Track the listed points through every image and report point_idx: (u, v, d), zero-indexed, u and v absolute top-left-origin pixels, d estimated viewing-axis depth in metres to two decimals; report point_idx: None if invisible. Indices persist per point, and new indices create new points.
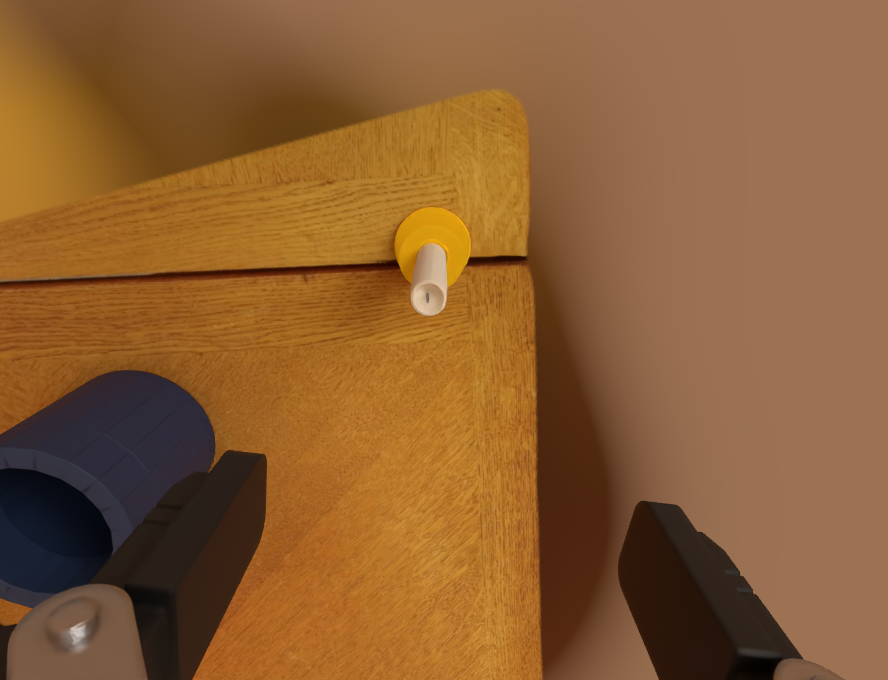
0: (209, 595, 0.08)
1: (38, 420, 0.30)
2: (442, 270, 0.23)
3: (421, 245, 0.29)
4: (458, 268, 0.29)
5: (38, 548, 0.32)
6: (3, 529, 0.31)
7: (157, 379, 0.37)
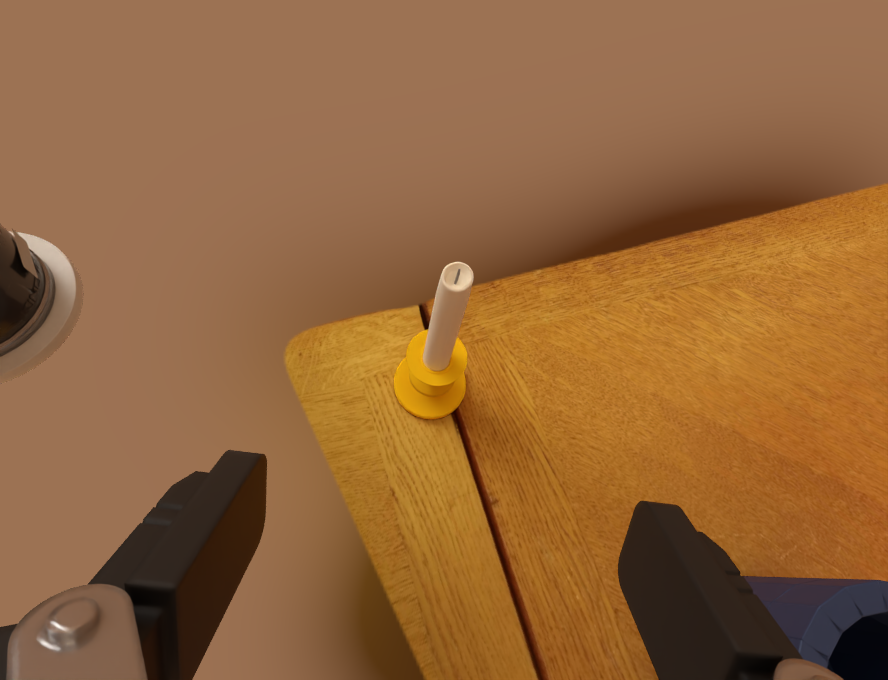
0: (209, 595, 0.08)
1: None
2: None
3: (427, 368, 0.31)
4: None
5: None
6: None
7: None
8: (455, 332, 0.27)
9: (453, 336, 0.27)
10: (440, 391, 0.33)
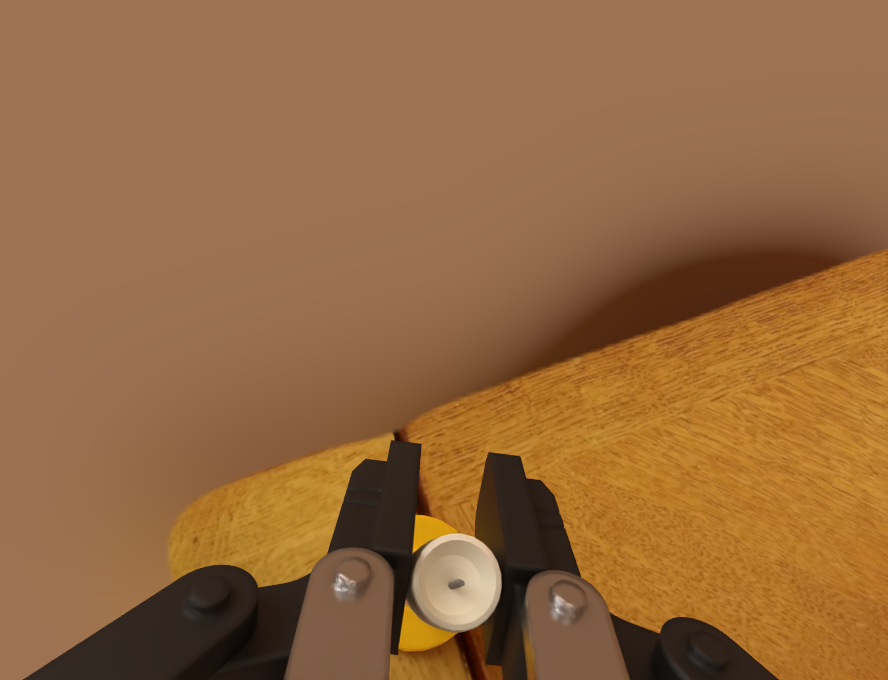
0: None
1: None
2: None
3: (405, 606, 0.16)
4: (426, 526, 0.17)
5: None
6: None
7: None
8: None
9: None
10: None
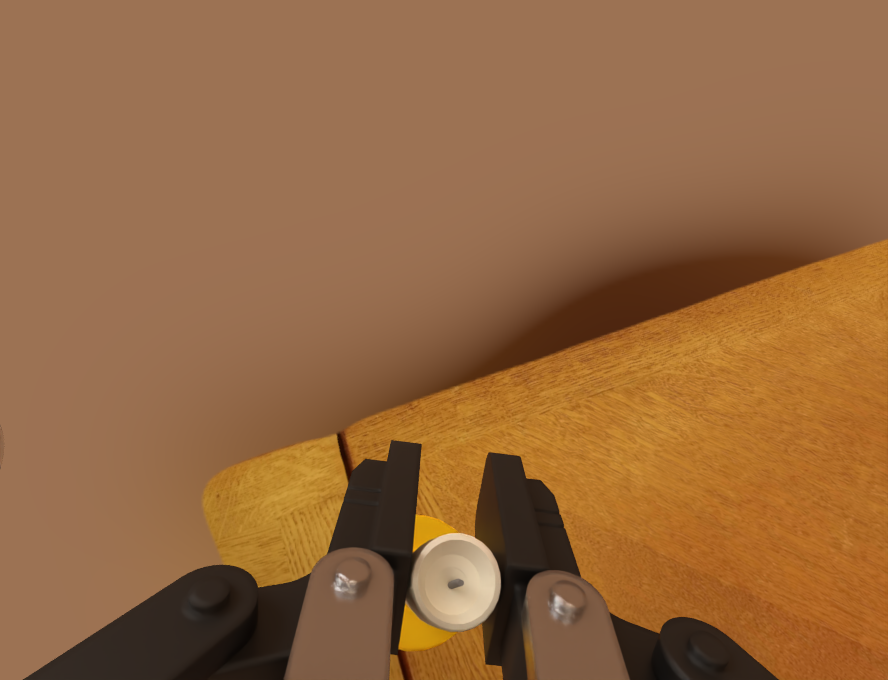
0: None
1: None
2: None
3: (405, 606, 0.16)
4: (426, 526, 0.17)
5: None
6: None
7: None
8: None
9: None
10: None
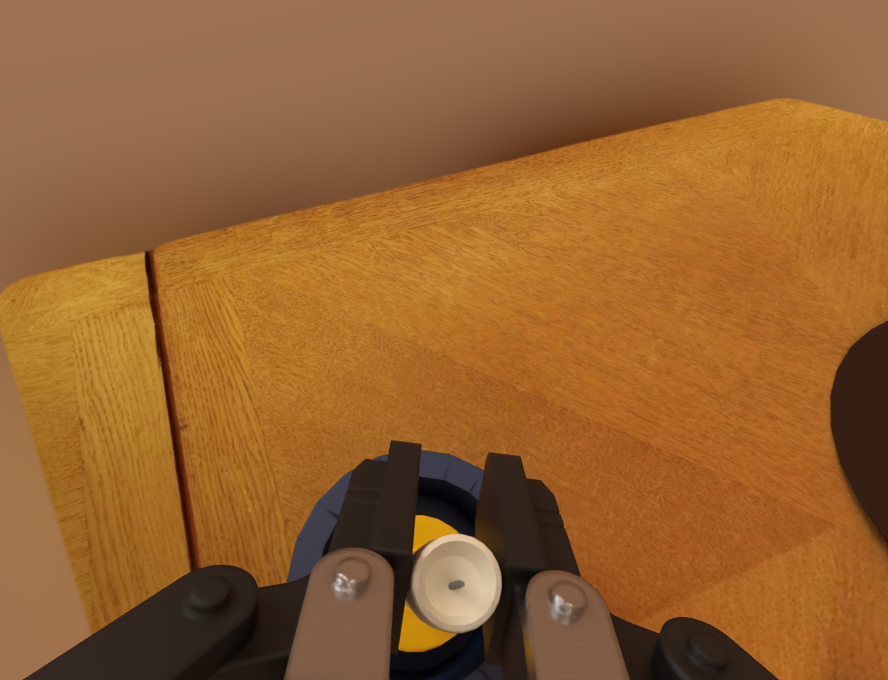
0: None
1: None
2: None
3: (405, 606, 0.16)
4: (426, 526, 0.17)
5: None
6: (471, 658, 0.23)
7: None
8: None
9: None
10: None
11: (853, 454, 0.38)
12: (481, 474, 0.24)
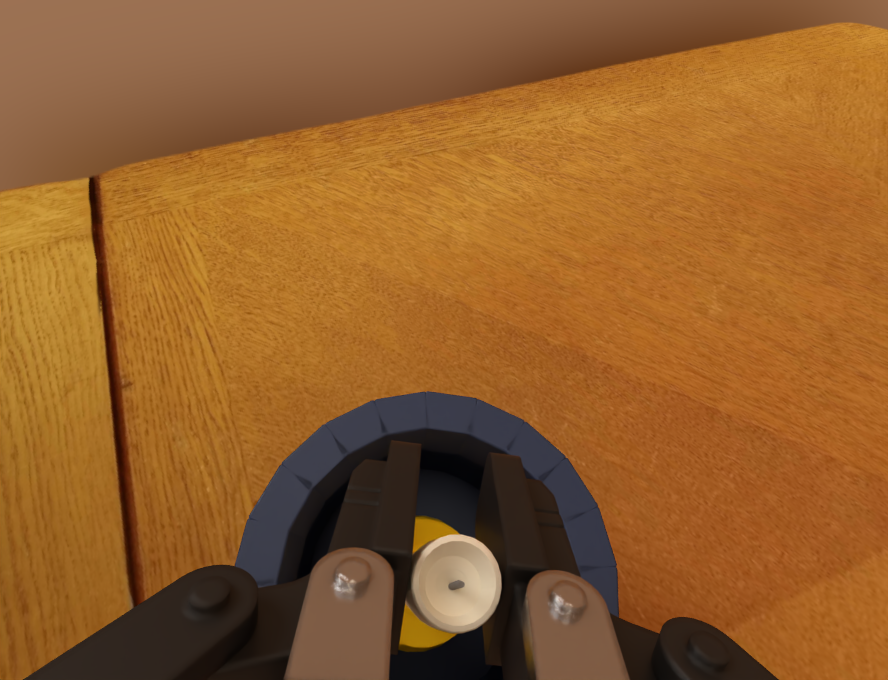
0: None
1: None
2: None
3: (405, 606, 0.16)
4: (426, 526, 0.17)
5: None
6: None
7: None
8: None
9: None
10: None
11: None
12: (522, 426, 0.17)
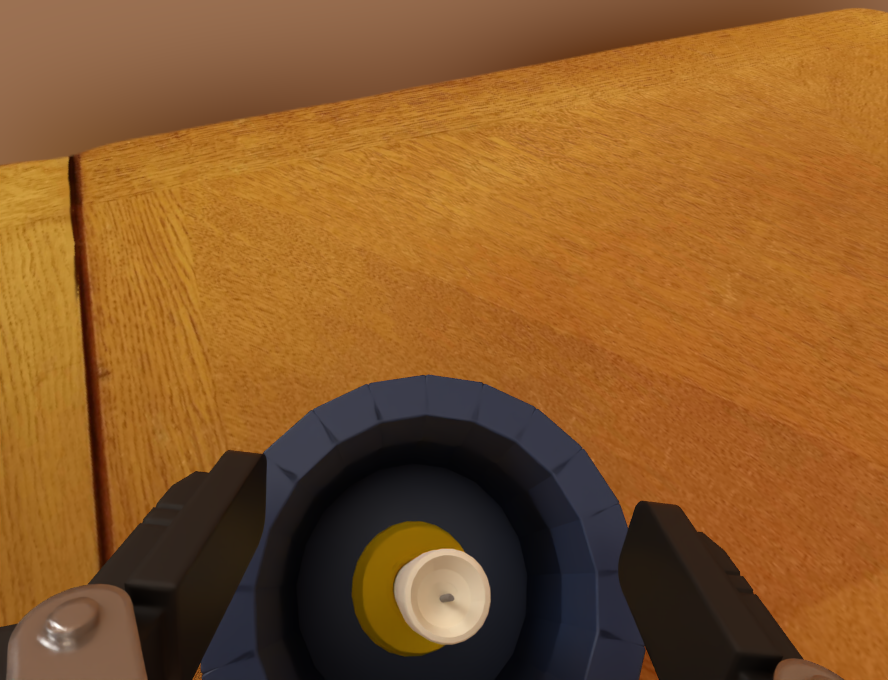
0: (209, 595, 0.08)
1: None
2: (402, 571, 0.11)
3: (401, 612, 0.17)
4: (423, 533, 0.18)
5: (558, 637, 0.15)
6: None
7: None
8: None
9: None
10: None
11: None
12: (533, 413, 0.15)
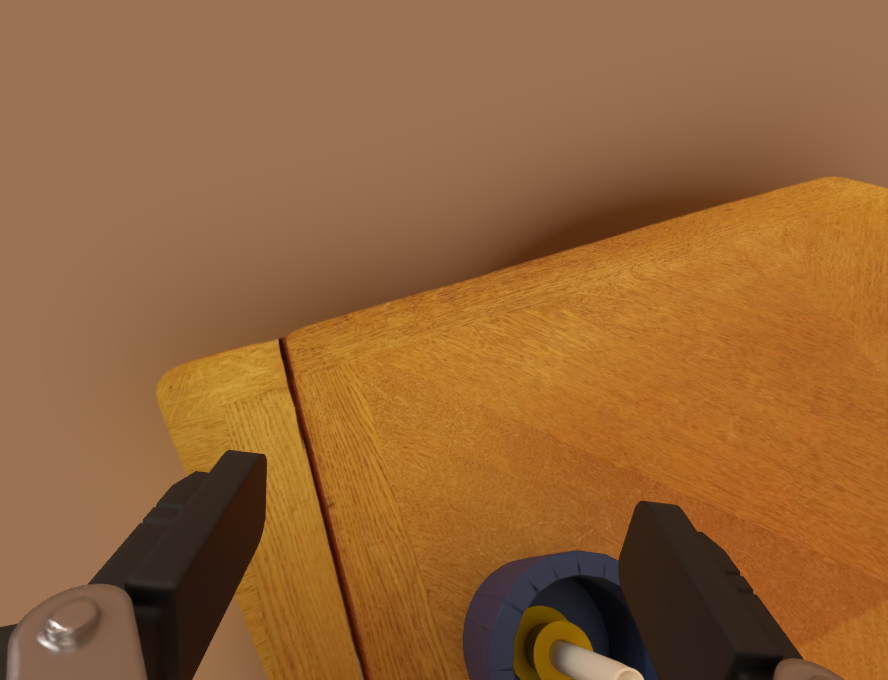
0: (209, 595, 0.08)
1: None
2: (589, 665, 0.25)
3: (555, 671, 0.31)
4: (562, 625, 0.32)
5: None
6: None
7: (464, 630, 0.36)
8: None
9: None
10: None
11: None
12: None
